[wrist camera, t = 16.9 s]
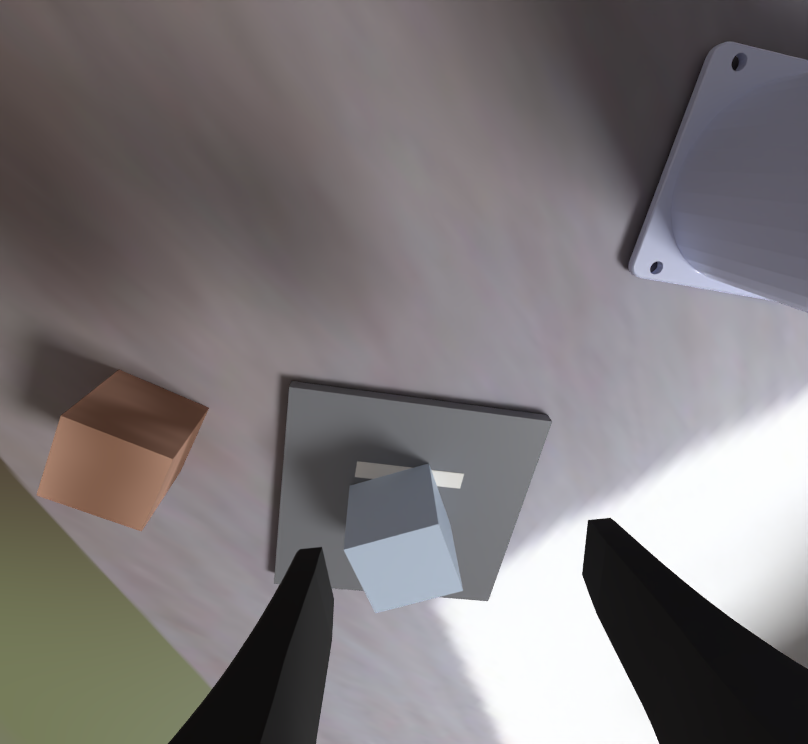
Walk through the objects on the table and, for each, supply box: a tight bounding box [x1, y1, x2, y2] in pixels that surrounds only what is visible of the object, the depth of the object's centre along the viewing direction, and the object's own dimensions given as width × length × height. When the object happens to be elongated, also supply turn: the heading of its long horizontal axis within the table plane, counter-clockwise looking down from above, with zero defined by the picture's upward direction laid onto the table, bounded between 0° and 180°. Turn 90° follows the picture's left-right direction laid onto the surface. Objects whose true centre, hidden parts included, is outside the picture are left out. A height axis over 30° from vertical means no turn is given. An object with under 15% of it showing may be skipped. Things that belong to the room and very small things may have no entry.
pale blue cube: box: [343, 463, 463, 613], centre depth 21 cm, size 4×4×4 cm
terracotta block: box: [37, 370, 209, 531], centre depth 19 cm, size 4×4×4 cm
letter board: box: [274, 381, 552, 601], centre depth 23 cm, size 12×12×1 cm
